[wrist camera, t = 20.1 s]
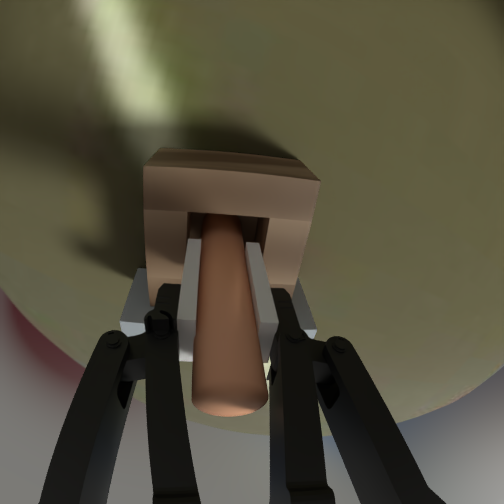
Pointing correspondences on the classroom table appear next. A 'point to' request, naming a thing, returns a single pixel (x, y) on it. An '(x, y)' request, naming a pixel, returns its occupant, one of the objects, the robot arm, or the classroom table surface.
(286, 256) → the block
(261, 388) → the dowel
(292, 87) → the classroom table surface
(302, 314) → the base
